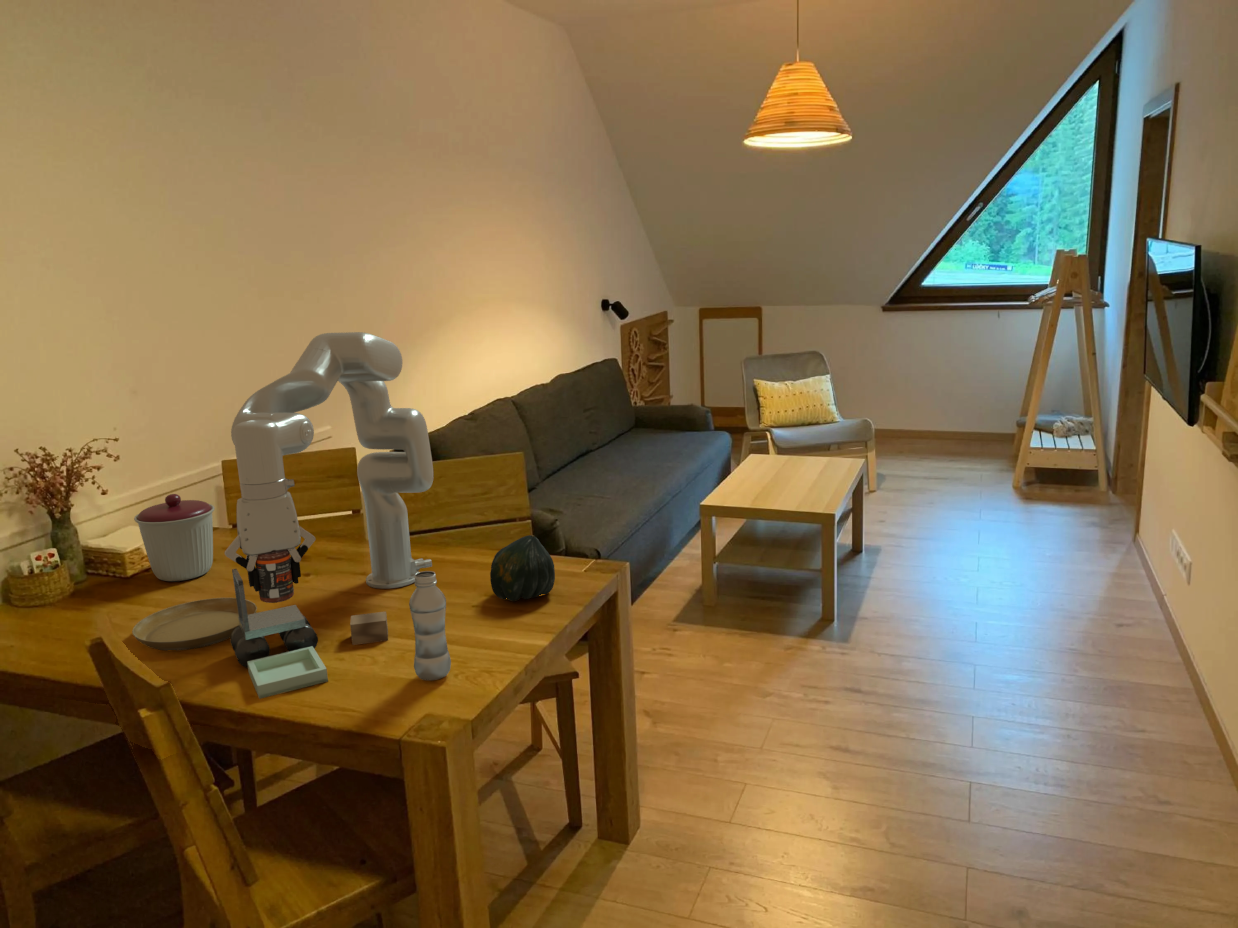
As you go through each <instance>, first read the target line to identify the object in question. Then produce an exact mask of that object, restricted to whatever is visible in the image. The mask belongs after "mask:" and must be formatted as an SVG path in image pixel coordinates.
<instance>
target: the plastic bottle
mask: <svg viewBox="0 0 1238 928" xmlns="http://www.w3.org/2000/svg"><path fill="white" fill-rule="evenodd" d="M436 576H437V575H436V572H435V571H432V570H425V571H419V573H416V574H415V576H414V577H415V582H414V586H415V587H416V588H415V590H414V591H413V593H412V594H411V597H410V598H409V603H408V605H409V610H410V615H411V619H412V624H413V630H414V637H415V638H414V639H415V640H414V641H415V643H414V651H415V652H414V653H415V654H414V658H413V659H414V660H413V669H414V672H415V674H416V676H417V677H418V678H419V679H420V680H422V681H436V680H440V679H443V678H445V677H446V676H447V675H448V674H449V672H450V671H451V668H452V667H451V665H452V660H451V655H450V652H449V650H448V649H449V648H448V643H447V635H446V610H447V599H446V596H445V594H444V593H443V591H441V589H440V588H439V587H438V586H437V583H438V580H437V577H436Z"/></svg>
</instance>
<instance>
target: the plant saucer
mask: <svg viewBox="0 0 1238 928" xmlns="http://www.w3.org/2000/svg"><path fill="white" fill-rule="evenodd" d="M245 600H246V608H247V615H249V614H254V613H257V609H258V607H257V605H256V603H254V602H253V601H251V600H249V599H245ZM238 617H239V616H238V609H237V602H236V597H215V598H214V597H212V598H205V599H198V600H192V601H188V602H183V603H180V604H175V605H172V606H169V607H167V608H163V609H160V610H158V611H157V612H156V611H155V612H153V613H152V614H149V615H148V616H145V617H144V618H142V619H141V620H140V621H138V622H137V623H136V624H135V625H134V627H133V628H132V636H133V637H135V639H136V640H137V641H138V642H139V643H141V644H143V645H144V646H146V647H149V648H152V649H156V650H160V651H168V650H176V651H186V650H193V649H194V648H195V649H199V648H200V649H201V648H204V647H207V646H211V645H215V644H218V643H221V642H223V641H226V640H229V639H230V637H231V633H232V632H233V630H234V629H235V628H236V627H238V626H239V621H238Z"/></svg>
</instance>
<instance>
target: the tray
mask: <svg viewBox="0 0 1238 928" xmlns="http://www.w3.org/2000/svg"><path fill="white" fill-rule="evenodd" d="M315 649H316V648H315ZM315 649H314V648H313V646H311V647H307V648H302V649H298V650H294V651H290V652H289V651H286V652H281V653H277V654H273V655H269V656H268V657H264V658H260V659H256V660H251V661H247V664H248V668H247V670H248V675H249V678H250V679H251V682H252V684H253V688H254V689H255V692H256V693H257V697H258V699H259V700H261V699H264V698H268V697H273V696H275V695H280V694H285V693H288V692H293V691H296V690H299V689H303V688H307V687H312V686H315V685H318V684H319V685H320V684H323V683H327V682H329V677H328V669H327V667H326V666H325V663H324V662H323V660H322V658H320V656H319V654H318V652H317V650H315Z"/></svg>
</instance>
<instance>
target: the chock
mask: <svg viewBox="0 0 1238 928" xmlns="http://www.w3.org/2000/svg"><path fill="white" fill-rule="evenodd" d="M387 617H388V616H387V611H379V612H378V611H377V612H371V613H363V614H355V615H351V616H350V624H349V625H350V634H351V642H352V643H351V644H352V646H355V645H363V644H371V643H372V644H373V643H378V642H385V641H389V627H388V619H387Z"/></svg>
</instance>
